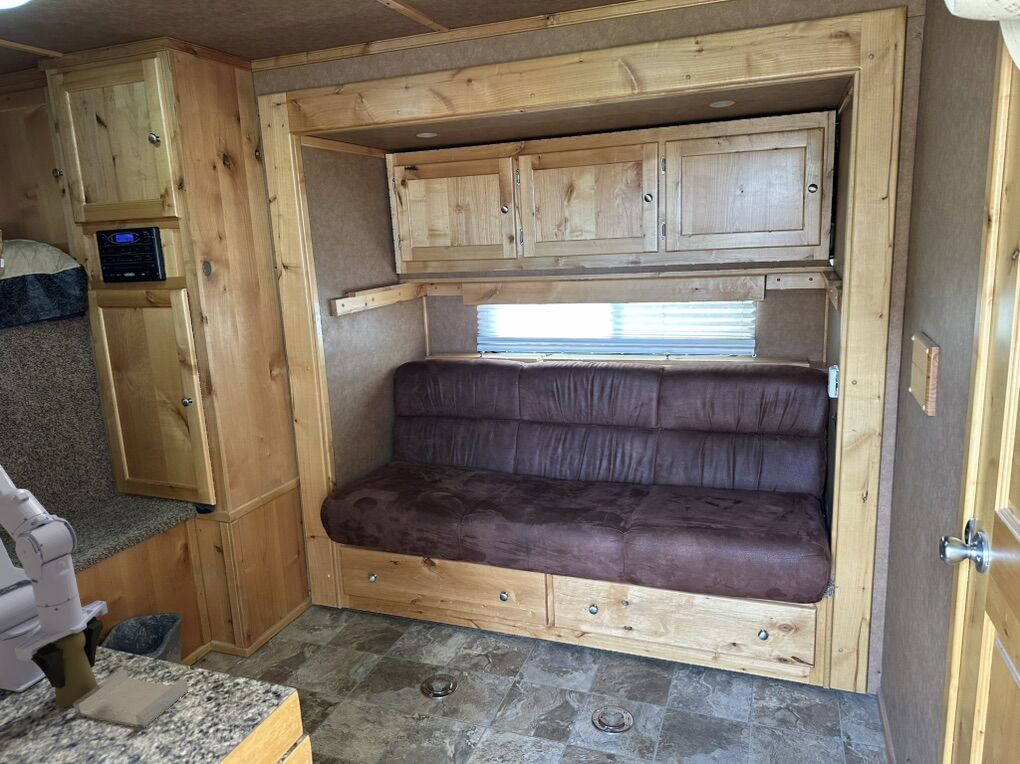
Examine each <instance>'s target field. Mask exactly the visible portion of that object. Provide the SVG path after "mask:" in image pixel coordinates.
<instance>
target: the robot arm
mask: <svg viewBox="0 0 1020 764" xmlns="http://www.w3.org/2000/svg"><path fill="white" fill-rule="evenodd" d="M0 525H1V526H2V527H3V528H4V530H5V531H6V532H7V533H8V534H9V536H11V538H12V539H13V541H15V548H14V550H15V554H16V556H17V559H18V560H19V562H20V563H21V564H22V567H23V568H21V567H15V566H14V564H13V562H12V560H11V558H10V556H9V554H8V551H7V549H6V547H5V545H4V543H3V541H2V538H0V592H1V593H0V689H2V690H7V691H11V692H12V691H13V692H16V693H22V692H24V691H25V690H27V689H28V688H29V687H32V686H33V685H34V684H36V683H37V682H39V681H41V680H42V679H44V678H45V677H46V678H47V680H48V683H49V684H50V686H51V688H54V689H55V688H62V687H64V686H65V678H64V673H63V665H62V660H63V652H64V650H63V649H58V648H56V647H55V645H54V646H53V643H54V642H55V641H57V640H58V639H60V638H62V637H64V636H67V635H69V634H71V633H78V632H80V631H83V633H84V634H85V637H86V643H85V646H84V651H85V653H86V656H87V658H88V661H89V664H90V666H91V669H92V668H93V667H95V663H96V655H97V646H98V643H99V639H100V636H101V634H102V631H103V629H104V628H105V626H104V621H103V620H99V619H97V617H98V616H104V615H106V614H107V613H109V612H108V606H107V601H102V600H95V601H94V602H92V603H90V604H87V605H84V606H82V604H81V599H80V593H79V588H78V583H77V579H76V574H75V569H74V563H73V559H72V558H73V557H72V554H71V553H74V552H75V550H76V549H77V546H78V539H77V536H76V532H75V530H74V529H73V527H72V525H71V524H70V523H69V521H68V520H67V519H65V518H63V517H58V516H57V514H50V513H49V512H48V511H47V509H45V507H44V506H43V505H42V504H41V503H40V502H39V501H38V499H37V498H36V497H35V495H34V494H33V493H32V492H31V491H30V490H29V489H27V488H26V489H25V488H17V487H16V486H15V484H14V483H13V481H12V479H11V478H10V476H9V475H8V474H7V472H6V471H5V469H4V468H3V466H2V465H1V464H0ZM10 587H12V588H10ZM8 588H10V589H8ZM5 589H7V590H6V591H4V590H5ZM2 591H4V592H2Z"/></svg>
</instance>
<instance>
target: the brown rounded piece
mask: <svg viewBox="0 0 1020 764" xmlns="http://www.w3.org/2000/svg"><path fill="white" fill-rule="evenodd" d="M85 643H86V637H85V634H84V633H83V631H80V632H78V633H71V634H69V635H67V636H64V637H62V638H60V639H58V640H57V641H55V642H54V643H53V646H54V645H55V647H56V648H58V649H63V650H64V652H63V660H62V665H63V673H64V678H65V686H64V687H62V688H55V687H54V690H55V694H54V695H55V696H54V697H55V703H56V704H55V705H57V706H58V707H61V708H69V707H70V706H71V707H74V706H73V703H74V702H75V701H77V700H78V699H80V698H81V697H82V696H84V695H85V694H87V693H88V692H89V691H91V690H92V689H94V688H95V687H97V686H98V685H99V684H98V683H97V682H98V681H97V679H96V677H95V675H94V672H93V669H92V668H91V666H90V664H89V661H88V658H87V656H86V653H85V651H84V646H85Z"/></svg>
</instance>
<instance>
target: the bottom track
mask: <svg viewBox="0 0 1020 764" xmlns="http://www.w3.org/2000/svg"><path fill="white" fill-rule="evenodd" d="M188 685H189V684H188V680H186V679H179V680H178V681H177V682H175V683H174V684H173V685H168V684H161V683H156V682H150V681H145V680H140V679H133V678H129V676H128V671H127V669H119V670H118V671H116V672H115V673H113V674H112V675H111V676H109V677H108V678H107V679H105V680H104V681H102V682H100V683H99V684H98V686H97V687H95V688H94V689H92V690H91V691H89V692H88V693H87V694H85V695H84V696H82V697H81V698H80V699H78V700H77V701H75V702H74V703H73V706H72V707H73V709H74V714H76V715H75V716H81V717H84V716H86V718H89V717H90V719H94V718H96V719H95V720H99V719H101V721H104V720H106V721H105V722H109V721H111V723H114V722H115V723H114V724H119V723H121V724H120V725H124V724H127V725H126V726H129V725H133V726H132V727H134V726H135V728H139V727H141V728H140V729H146V728H147V727H148V726H149V725H151V724H152V723H153V722H154V721H155V720H156V719H158V718H159V717H160V716H161V715H162V714H164V713H165V712H166V711H167V710H169V709H170V708H171V707H172V706H173V705H175V704H176V703H177V702H178V701H179V700H181V699H180V697H182V696H183V695H184V694H185V693H187V692H188V691H190V690H189V686H188ZM188 693H189V692H188ZM188 693H187V694H188ZM185 695H186V694H185ZM185 695H184V696H185ZM184 696H183V697H184ZM183 697H182V698H183ZM177 700H178V701H177ZM176 701H177V702H176ZM175 702H176V703H175ZM174 703H175V704H174ZM172 704H173V705H172ZM171 705H172V706H171ZM170 706H171V707H170ZM169 707H170V708H169ZM168 708H169V709H168ZM164 711H165V712H164ZM163 712H164V713H163ZM159 715H160V716H159ZM158 716H159V717H158ZM157 717H158V718H157ZM155 718H156V719H155ZM154 719H155V720H154ZM153 720H154V721H153ZM152 721H153V722H152ZM151 722H152V723H151ZM147 725H148V726H147ZM136 726H137V727H136ZM146 726H147V727H146ZM145 727H146V728H145Z"/></svg>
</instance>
